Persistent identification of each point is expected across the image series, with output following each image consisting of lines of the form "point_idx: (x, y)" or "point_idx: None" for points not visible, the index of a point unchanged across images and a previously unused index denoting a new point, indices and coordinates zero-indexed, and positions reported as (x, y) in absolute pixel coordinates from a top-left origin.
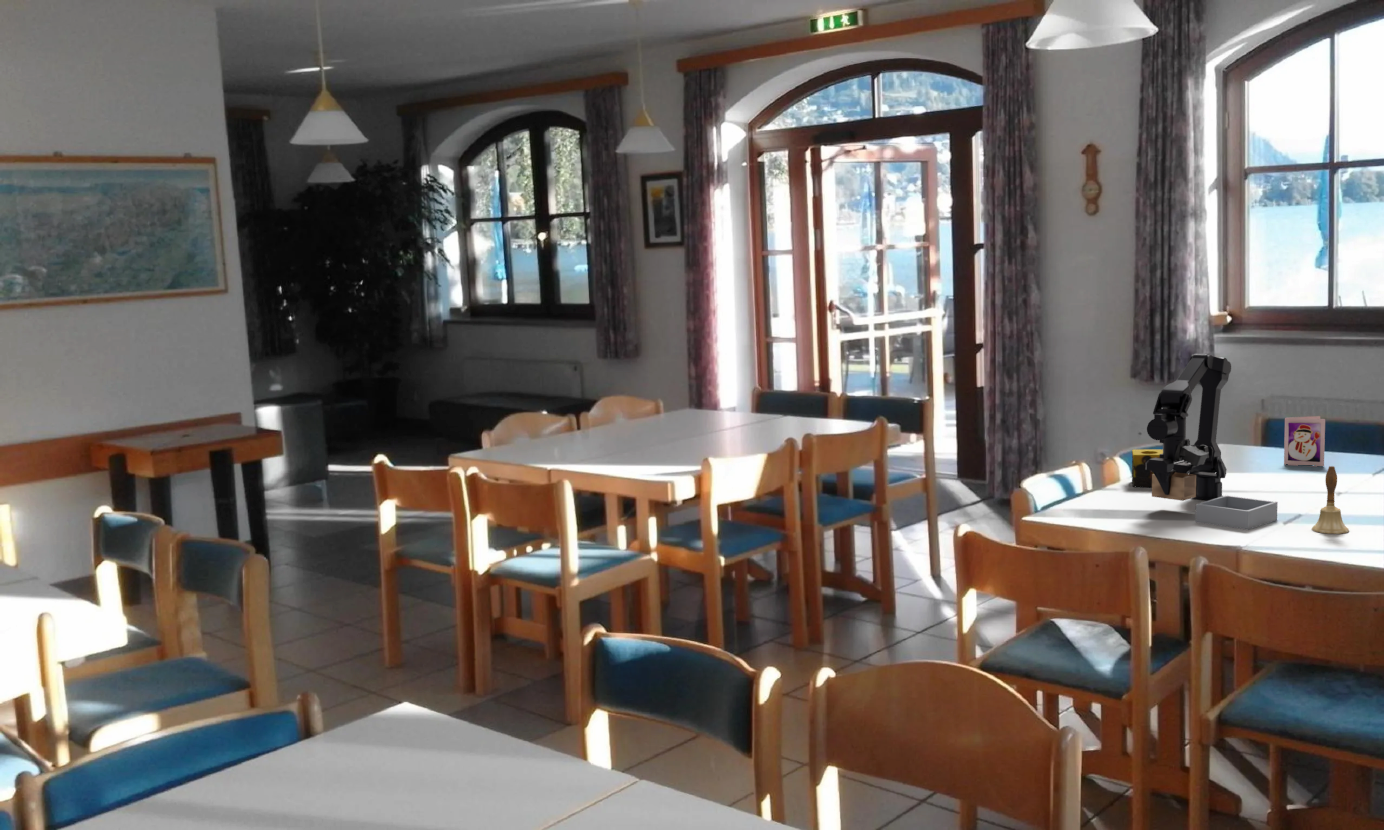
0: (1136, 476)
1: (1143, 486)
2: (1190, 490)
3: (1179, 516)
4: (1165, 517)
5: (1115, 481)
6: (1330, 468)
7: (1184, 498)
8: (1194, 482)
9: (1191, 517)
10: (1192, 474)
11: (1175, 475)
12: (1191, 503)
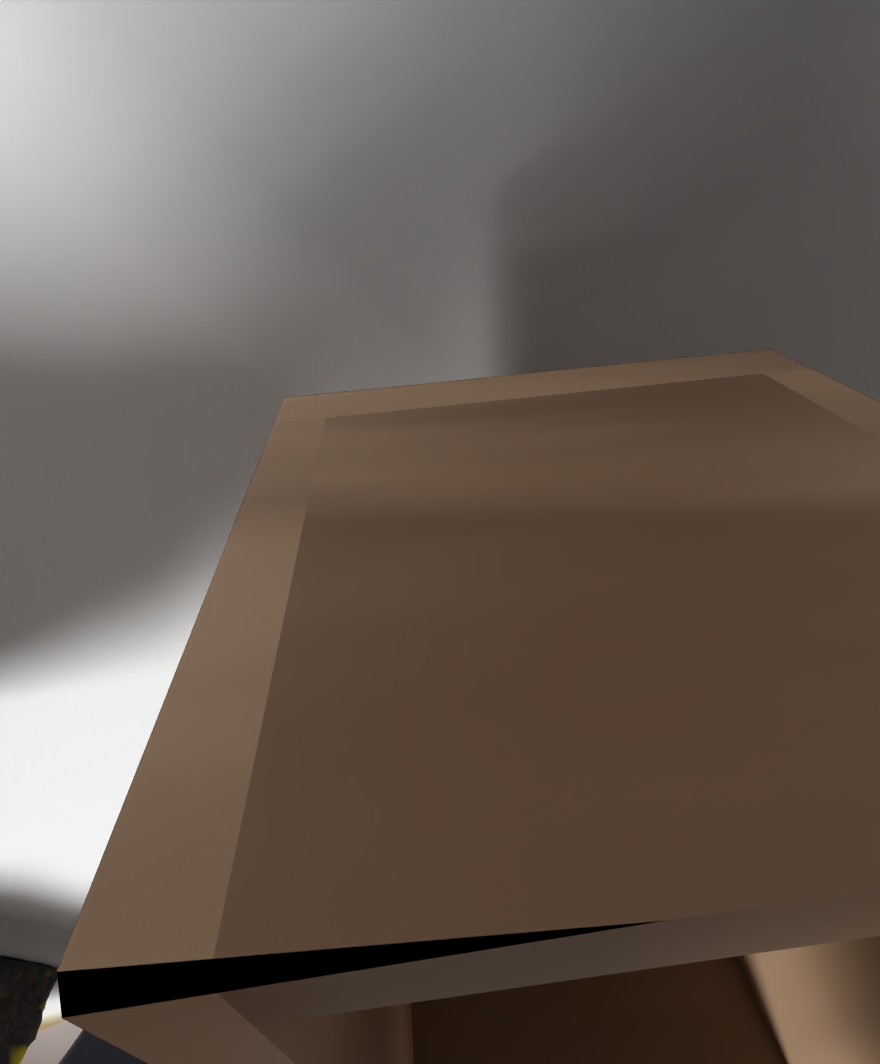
0: (9, 1052)
1: (3, 964)
2: (535, 450)
3: (739, 275)
4: (862, 363)
5: (52, 1024)
6: None
7: (740, 363)
8: (313, 606)
9: (739, 82)
10: (174, 1056)
11: (393, 1050)
12: (19, 604)
